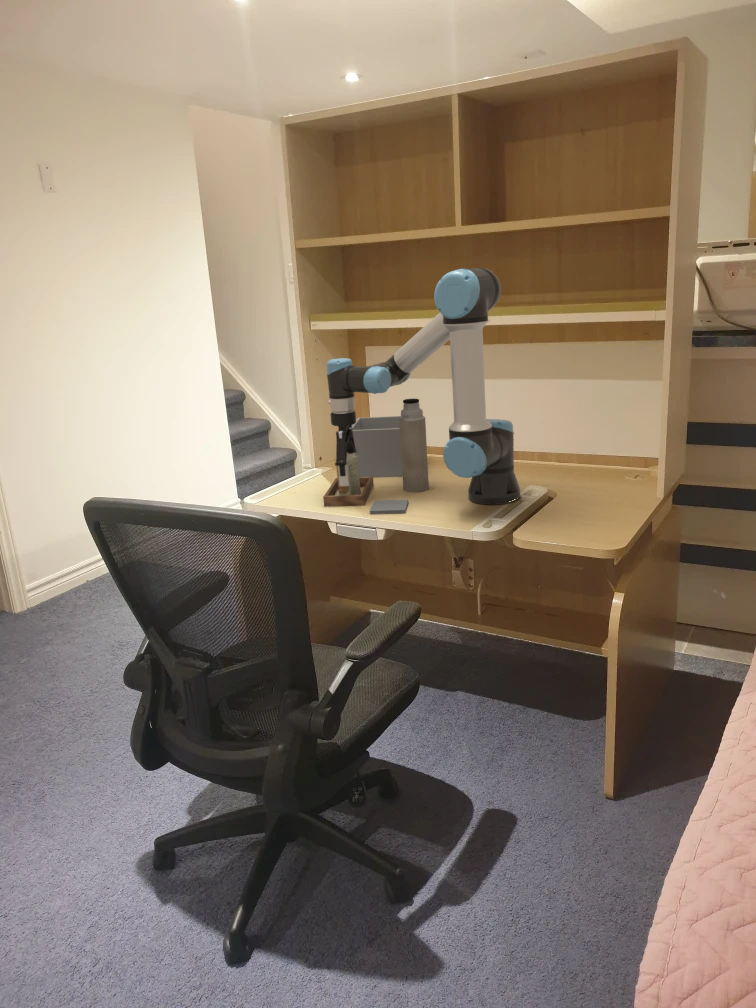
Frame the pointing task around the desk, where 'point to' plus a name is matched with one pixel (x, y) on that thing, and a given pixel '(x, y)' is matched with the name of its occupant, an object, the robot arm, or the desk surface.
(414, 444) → the thermos bottle
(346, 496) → the frame
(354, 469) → the skincare box
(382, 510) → the mat
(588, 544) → the desk surface
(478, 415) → the robot arm
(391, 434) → the box
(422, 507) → the desk surface
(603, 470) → the desk surface
